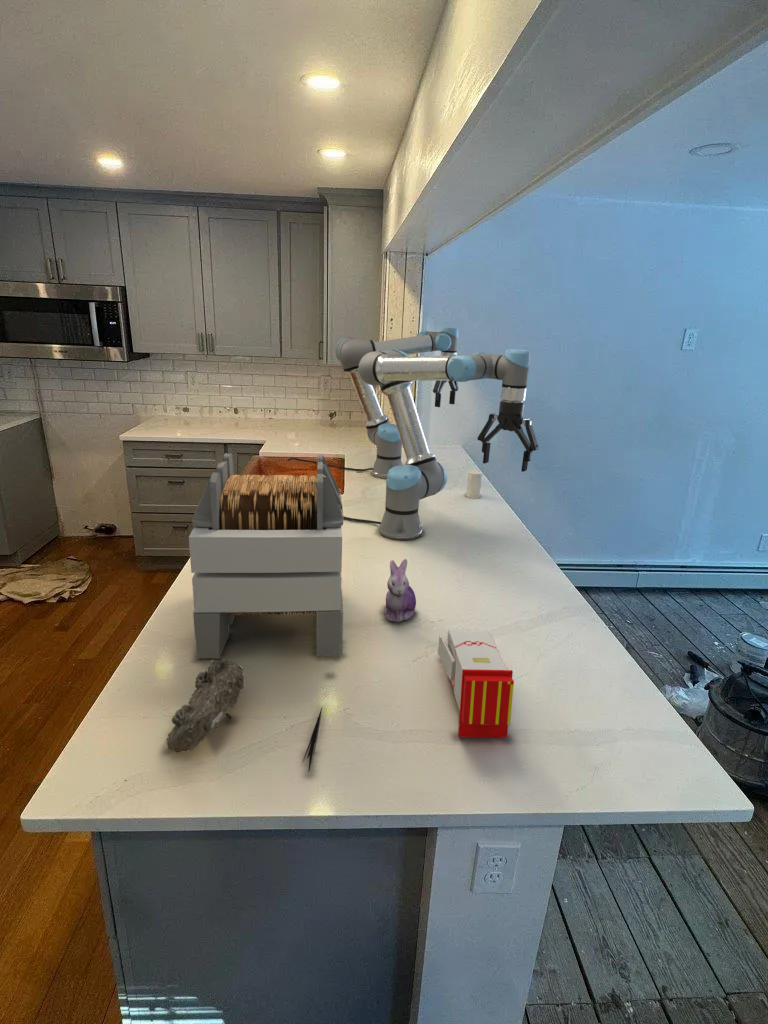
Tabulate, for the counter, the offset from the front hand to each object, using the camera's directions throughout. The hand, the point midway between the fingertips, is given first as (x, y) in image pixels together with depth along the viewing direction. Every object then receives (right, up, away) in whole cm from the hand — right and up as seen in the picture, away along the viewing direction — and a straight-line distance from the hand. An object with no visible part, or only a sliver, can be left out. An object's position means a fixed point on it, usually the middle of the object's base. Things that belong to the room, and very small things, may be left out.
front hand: (504, 466), depth 184 cm
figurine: (-35, -41, -37) cm, 66 cm away
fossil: (-72, -54, -76) cm, 118 cm away
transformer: (-66, -42, -42) cm, 89 cm away
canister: (-1, -8, +61) cm, 61 cm away
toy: (-21, -52, -66) cm, 87 cm away
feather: (-52, -55, -76) cm, 106 cm away
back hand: (-9, +38, +97) cm, 104 cm away
